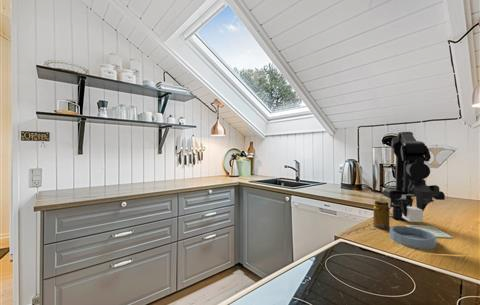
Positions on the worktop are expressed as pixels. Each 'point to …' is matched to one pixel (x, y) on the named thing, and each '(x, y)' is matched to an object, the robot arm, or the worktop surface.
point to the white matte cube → (413, 214)
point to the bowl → (413, 237)
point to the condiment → (381, 215)
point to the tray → (432, 231)
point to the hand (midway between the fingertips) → (412, 216)
